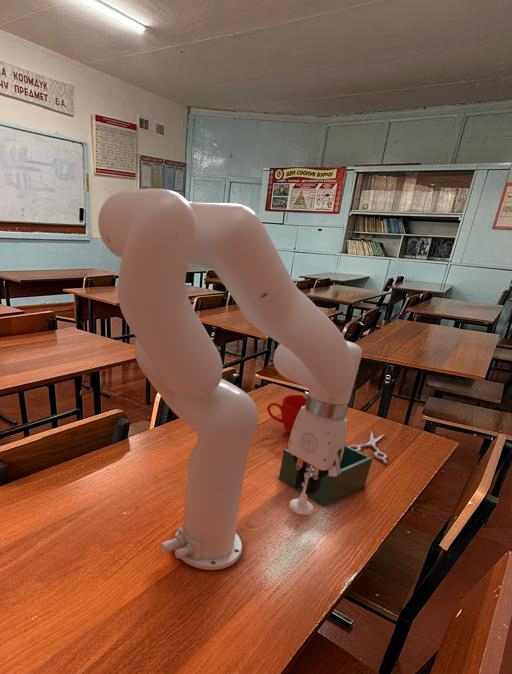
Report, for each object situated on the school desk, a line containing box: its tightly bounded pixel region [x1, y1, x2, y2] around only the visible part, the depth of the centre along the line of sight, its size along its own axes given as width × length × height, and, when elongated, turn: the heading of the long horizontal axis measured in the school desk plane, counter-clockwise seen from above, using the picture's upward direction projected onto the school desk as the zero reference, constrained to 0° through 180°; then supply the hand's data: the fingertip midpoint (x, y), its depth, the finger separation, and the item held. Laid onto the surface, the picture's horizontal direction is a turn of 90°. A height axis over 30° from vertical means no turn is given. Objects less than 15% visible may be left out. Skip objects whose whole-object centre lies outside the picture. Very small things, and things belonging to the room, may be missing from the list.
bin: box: [278, 444, 374, 507], centre depth 103 cm, size 16×14×8 cm
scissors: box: [348, 429, 388, 465], centre depth 125 cm, size 11×1×20 cm
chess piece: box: [288, 465, 314, 516], centre depth 89 cm, size 5×5×10 cm
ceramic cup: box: [267, 394, 306, 436], centre depth 127 cm, size 13×17×10 cm
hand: (305, 489), depth 89 cm, fingers closed on chess piece
